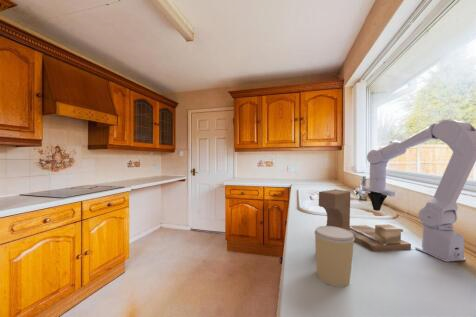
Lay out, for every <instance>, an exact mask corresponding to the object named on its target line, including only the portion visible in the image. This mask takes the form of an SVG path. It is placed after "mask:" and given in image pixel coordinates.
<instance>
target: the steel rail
mask: <svg viewBox="0 0 476 317" xmlns="http://www.w3.org/2000/svg"><path fill="white" fill-rule="evenodd" d="M350 229H351V230H353V231H355V232H357V233H359V234H361V235H363V236H365V237H368V238H370V239H372V240H374V241H376V242H378V243H380V244H382V245H386V243H384V242H382V241H380V240H378V239H376V238H374V237H371V236H369V235H367V234H365V233H363V232H361V231H359V230H356V229H354V228H352V227H350Z"/></svg>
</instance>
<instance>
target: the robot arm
mask: <svg viewBox="0 0 476 317" xmlns="http://www.w3.org/2000/svg"><path fill="white" fill-rule="evenodd" d="M430 140H439V141H441V142H443V143H445V144H446V146H447V147H448V148H449V149H451V151H452V154H451V156H450V157H449V158H450V159H449V161H448V163H447V165H446V168H445V170H444V172H443V174H442V176H441V178H440V179H441V180H440V181H439V183H438V186H437V188H436V190H435V193H434V195H433V197H432V198H431V199H429V200H428V201H427V202H426V205H424V207H423V208H421V209H420V210H418V213H417V214H418V218H419V220H420V222H421V223H422V240H421V244H422V245H421V246H415V247H414V248H415V249H416V250H418V251H420V252H422V253H425V254H427V255H429V256H433V257H435V258H437V259H439V260H441V261H444V262H459V261H466V260H467V258H465V238H464V236H463V235H462V234H461V233H459V232H456V231H455V230H454V228H453V224H455V223H456V222H457V220H458V215H457V211H458V209H459V205H458V204H457V201H458V199H459V197H460V195H461V192H462V191H463V189H464V187H465V185H466V183H467V180H468V179H469V175H470V174H471V172H472V169H473V168H474V165H475V164H476V128H475V127H474V125H473V124H470V123H469V122H467V121H459V120H454V119H450V118H449V119H447V118H446V119H441V120H439V121H437V122H436V123H431V124H429V125H428V126H427V127H425V128H423V129H422V130H420V131H417V132H416V133H414V134H413V135H411V136H408V137H407V138H405V139H404V140H401V141H399V140H391V141H389V143H388V144H387V145H384V146H380V147H378V150H377V149H371V150H370V151H369V152H368V153H367V155H366V159H367V161H368V163H369V182H368V184H369V185H368V186H361V191H363V192H368V193H367V196H368V198H369V199H370V202H371V205H372V209H373V211H375V212H379V211H381V209H382V205H383V203H384V202H385V200H386V198H387V197H395V195H396V191H395V190H394V191H392V190H390V189H387V188H386V184H387V182H386V180H387V179H386V178H387V165H388V163H389V161H391V160H392V159H395V158H397V157H399V156H401V155H404V154H406V152H407V149H410V148H412V147H416V146H418V145H420V144H423V143H425V142H427V141H430Z"/></svg>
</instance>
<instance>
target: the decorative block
mask: <svg viewBox="0 0 476 317" xmlns="http://www.w3.org/2000/svg"><path fill="white" fill-rule="evenodd" d="M318 206H319V207H320V208H323V209H324V210H325V212H326V219H327V220H326V225H325V226H333V227H339V228H343V229H346V230H348V231H350V226H351V225H350V224H351V223H350V222H351V191H350V190H345V189H336V188H335V189H329V190H323V191H322V190H321V191H319V192H318Z"/></svg>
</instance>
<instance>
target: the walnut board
mask: <svg viewBox="0 0 476 317" xmlns="http://www.w3.org/2000/svg"><path fill="white" fill-rule="evenodd" d="M350 227H352V228H354V229H356V230H359V231H361V232H363V233H365V234H367V235H369V236H371V237H374V238H375V227H371V226H370V225H366V224H362V225H361V224H359V225H356V224H355V225H350ZM350 232H351V233H352V234H353V236H354V238H355V240H354V242H355V243H357V244H359V245H360V246H362V247H365V248H367V249H368V250H370V251H372V252H386V251H399V250H401V251H402V250H411V249H412V243H410V242H408V241H404V240H403V239H401V243H391V244H386V245H382V244H380V243H378V242H376V241H374V240H372V239H370V238H368V237H365V236H363V235H361V234H359V233H357V232H355V231H353V230H351V229H350Z"/></svg>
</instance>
